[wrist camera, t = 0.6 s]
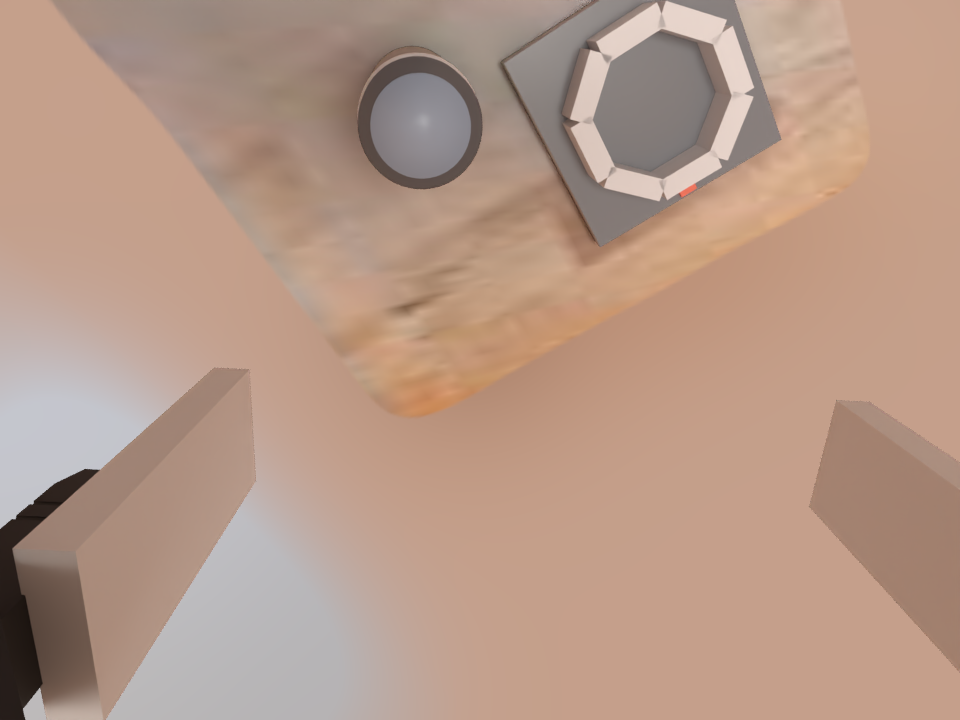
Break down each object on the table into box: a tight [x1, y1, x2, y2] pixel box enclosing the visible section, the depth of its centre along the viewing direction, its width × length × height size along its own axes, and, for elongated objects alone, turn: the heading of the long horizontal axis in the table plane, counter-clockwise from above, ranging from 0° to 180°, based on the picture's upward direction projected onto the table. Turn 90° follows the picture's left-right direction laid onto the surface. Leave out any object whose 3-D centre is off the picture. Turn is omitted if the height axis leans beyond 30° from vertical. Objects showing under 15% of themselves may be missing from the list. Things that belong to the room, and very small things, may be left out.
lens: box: [357, 46, 482, 189], centre depth 31 cm, size 5×5×11 cm
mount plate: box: [501, 0, 781, 247], centre depth 36 cm, size 12×12×3 cm
